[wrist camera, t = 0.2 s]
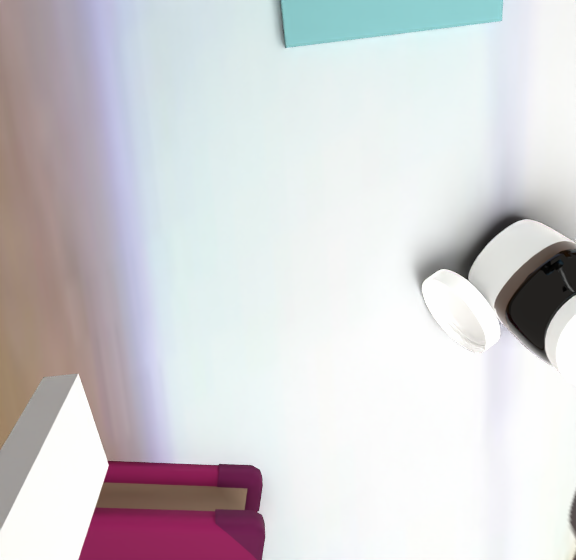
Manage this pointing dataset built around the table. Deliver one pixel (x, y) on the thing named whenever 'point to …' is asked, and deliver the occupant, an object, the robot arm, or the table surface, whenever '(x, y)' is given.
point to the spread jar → (513, 295)
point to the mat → (378, 17)
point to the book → (177, 513)
